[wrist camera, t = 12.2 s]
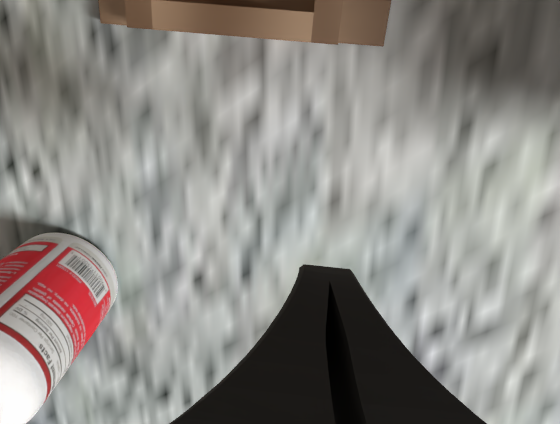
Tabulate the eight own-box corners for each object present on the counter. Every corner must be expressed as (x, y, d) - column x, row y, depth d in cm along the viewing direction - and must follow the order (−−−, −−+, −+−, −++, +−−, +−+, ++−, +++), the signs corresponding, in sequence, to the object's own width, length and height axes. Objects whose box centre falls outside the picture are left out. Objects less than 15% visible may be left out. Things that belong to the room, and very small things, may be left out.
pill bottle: (16, 293, 25) (-181, 470, 15) (26, 213, 23) (-202, 361, 13) (111, 327, 26) (-17, 519, 16) (132, 252, 23) (-6, 424, 13)
